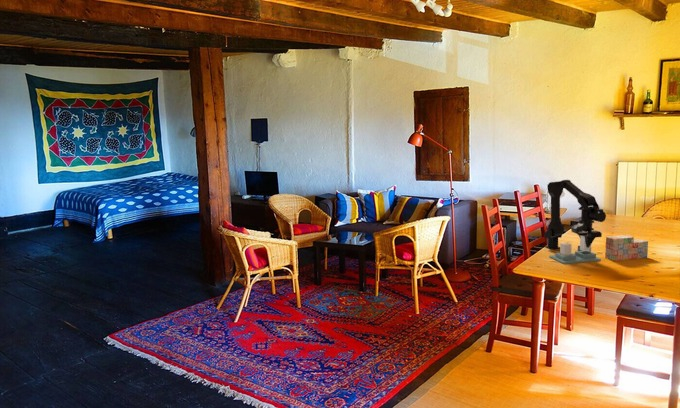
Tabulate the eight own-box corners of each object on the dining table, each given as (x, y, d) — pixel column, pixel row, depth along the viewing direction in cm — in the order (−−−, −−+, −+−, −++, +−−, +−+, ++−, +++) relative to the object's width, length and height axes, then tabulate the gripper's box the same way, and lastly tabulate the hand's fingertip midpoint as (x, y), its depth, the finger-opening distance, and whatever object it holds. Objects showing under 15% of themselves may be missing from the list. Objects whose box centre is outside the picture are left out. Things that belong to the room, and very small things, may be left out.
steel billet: (579, 249, 297) (580, 235, 296) (586, 248, 298) (587, 234, 297) (584, 251, 294) (584, 237, 292) (590, 250, 294) (591, 236, 293)
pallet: (549, 257, 300) (549, 241, 299) (584, 254, 304) (585, 238, 303) (563, 263, 287) (564, 247, 285) (600, 260, 290) (601, 244, 289)
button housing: (577, 250, 311) (577, 245, 311) (585, 250, 312) (585, 245, 312) (582, 252, 307) (583, 247, 306) (590, 252, 307) (591, 247, 307)
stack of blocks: (639, 254, 299) (640, 233, 297) (647, 257, 293) (648, 235, 291) (604, 258, 295) (605, 236, 293) (612, 261, 289) (613, 238, 287)
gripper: (563, 216, 301) (562, 243, 303) (584, 223, 282) (582, 251, 285) (581, 215, 302) (580, 242, 305) (603, 221, 284) (601, 250, 287)
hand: (585, 246), depth 296 cm, fingers closed on steel billet, 4 cm apart
